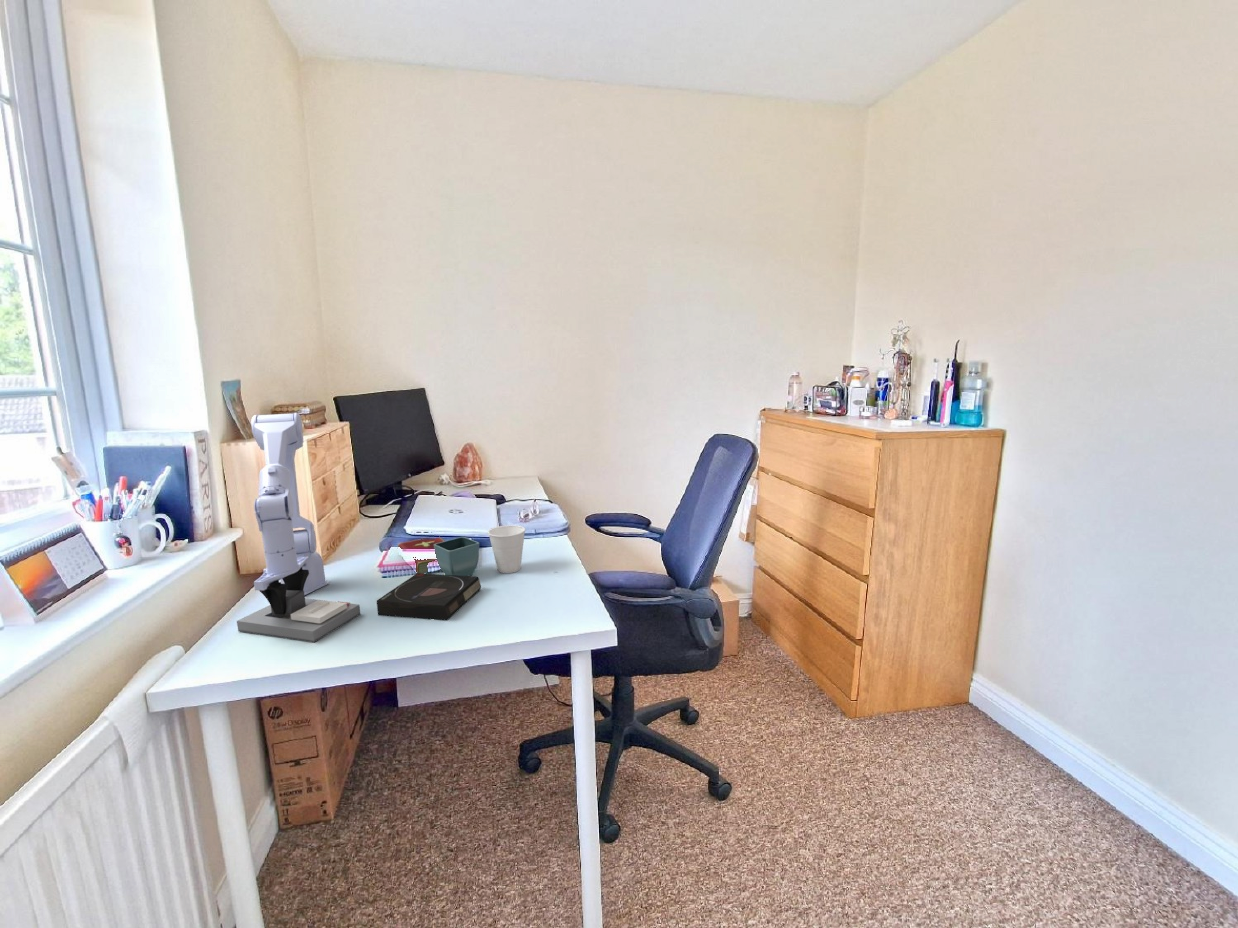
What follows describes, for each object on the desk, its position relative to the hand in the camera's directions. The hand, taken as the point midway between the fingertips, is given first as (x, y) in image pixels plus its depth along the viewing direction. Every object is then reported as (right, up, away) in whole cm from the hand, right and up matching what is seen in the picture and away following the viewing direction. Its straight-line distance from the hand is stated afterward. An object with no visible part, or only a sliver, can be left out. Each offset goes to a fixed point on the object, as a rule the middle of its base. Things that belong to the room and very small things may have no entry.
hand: (288, 608), depth 121 cm
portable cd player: (+29, -1, +9) cm, 30 cm away
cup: (+43, +3, +28) cm, 51 cm away
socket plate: (+3, -3, 0) cm, 4 cm away
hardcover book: (+18, +3, +37) cm, 42 cm away
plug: (0, -2, 0) cm, 2 cm away
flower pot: (+30, +2, +25) cm, 39 cm away
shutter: (+8, 0, -2) cm, 8 cm away
